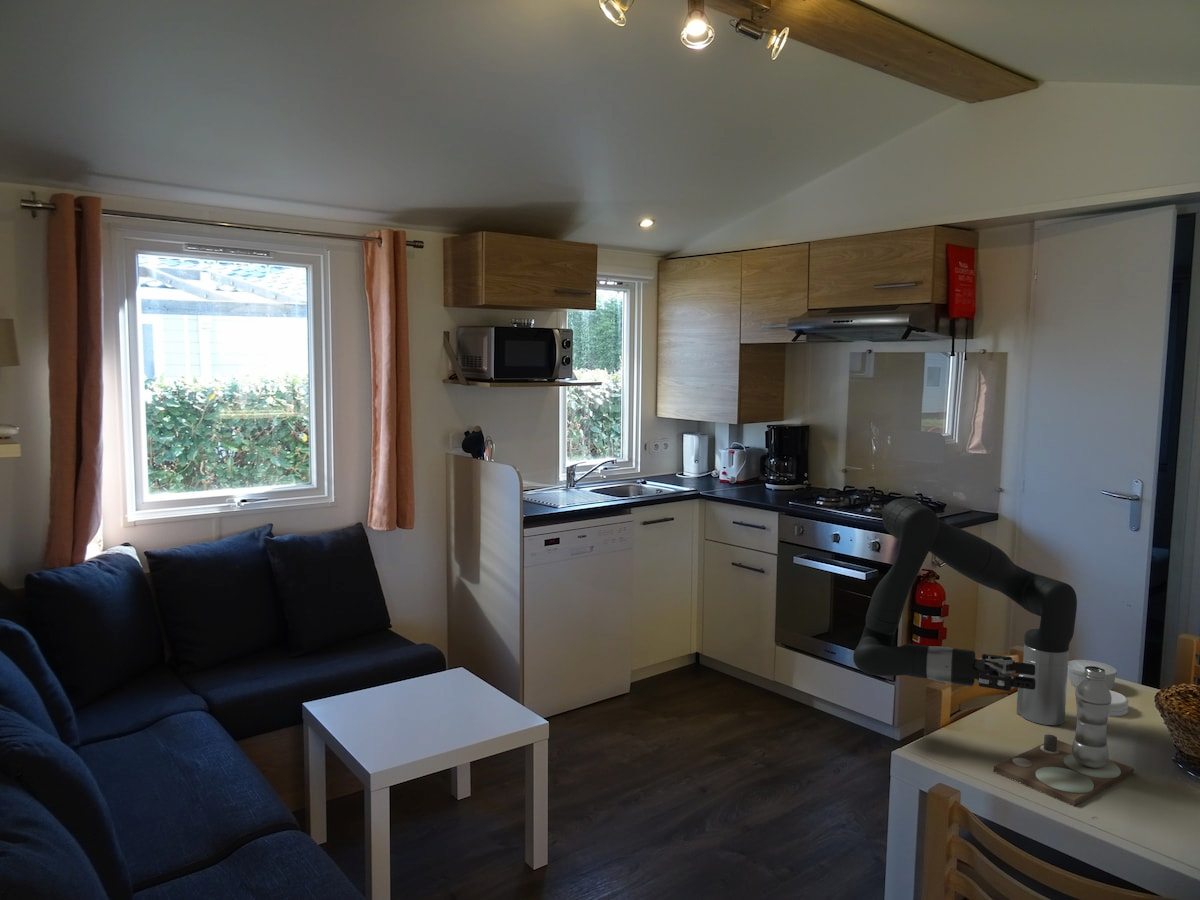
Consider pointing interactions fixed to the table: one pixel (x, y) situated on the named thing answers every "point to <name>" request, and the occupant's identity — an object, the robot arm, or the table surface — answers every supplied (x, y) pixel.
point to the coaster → (1118, 704)
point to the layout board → (1061, 772)
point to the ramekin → (1078, 669)
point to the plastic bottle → (1092, 719)
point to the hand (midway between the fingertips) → (1035, 676)
